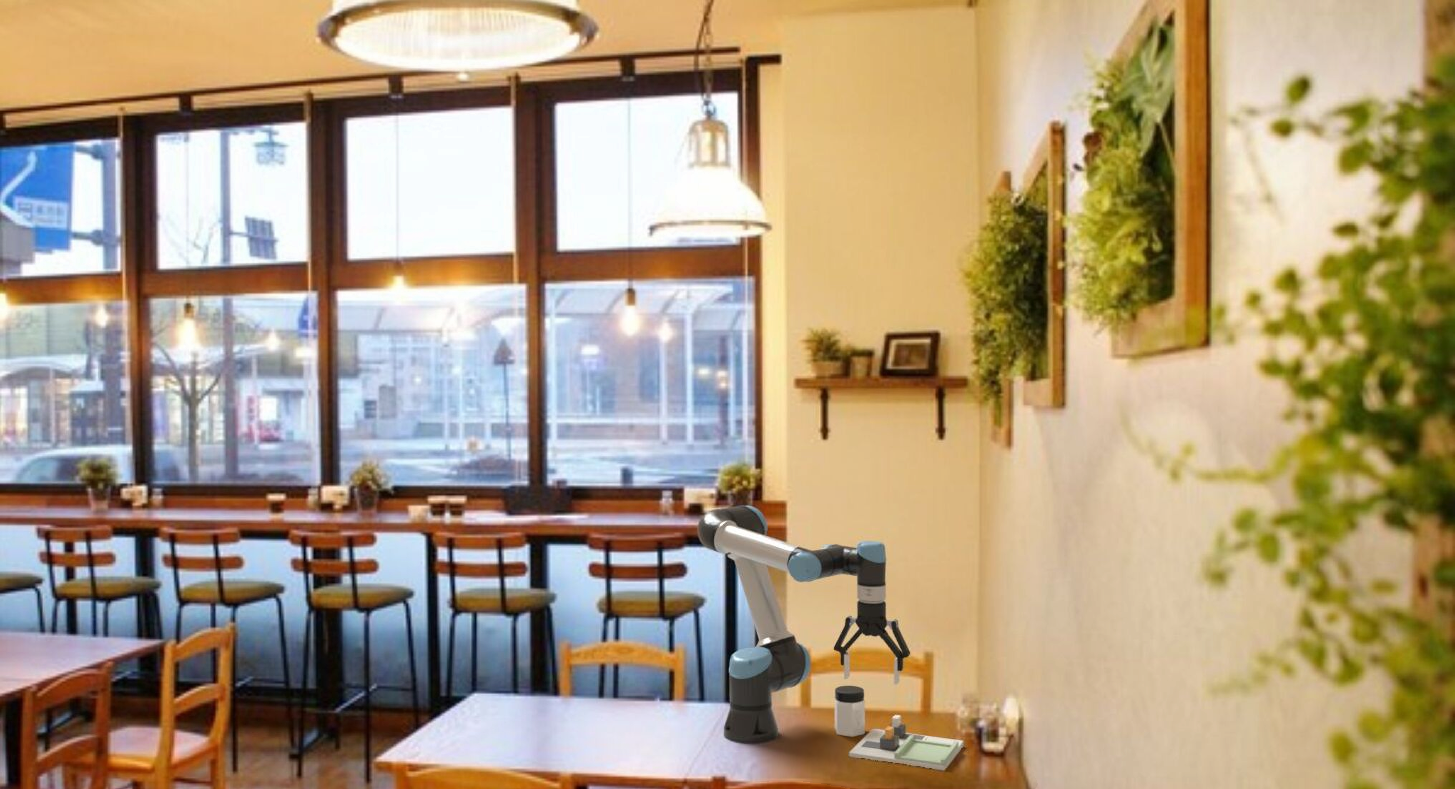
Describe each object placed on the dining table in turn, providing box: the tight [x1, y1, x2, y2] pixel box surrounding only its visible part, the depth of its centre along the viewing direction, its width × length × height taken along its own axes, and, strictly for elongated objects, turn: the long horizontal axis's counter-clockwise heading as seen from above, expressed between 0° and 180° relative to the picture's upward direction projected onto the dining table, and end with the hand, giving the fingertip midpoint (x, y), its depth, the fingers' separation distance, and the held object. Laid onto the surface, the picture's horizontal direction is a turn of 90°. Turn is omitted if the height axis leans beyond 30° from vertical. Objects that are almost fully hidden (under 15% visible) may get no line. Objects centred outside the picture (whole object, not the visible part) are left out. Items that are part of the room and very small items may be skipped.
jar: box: [834, 685, 866, 738], centre depth 300 cm, size 9×8×12 cm
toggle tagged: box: [880, 725, 899, 750], centre depth 283 cm, size 4×4×5 cm
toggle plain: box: [888, 714, 907, 738], centre depth 293 cm, size 4×4×5 cm
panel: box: [848, 728, 964, 772], centre depth 284 cm, size 25×21×3 cm
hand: (871, 680), depth 285 cm, fingers open, 13 cm apart
